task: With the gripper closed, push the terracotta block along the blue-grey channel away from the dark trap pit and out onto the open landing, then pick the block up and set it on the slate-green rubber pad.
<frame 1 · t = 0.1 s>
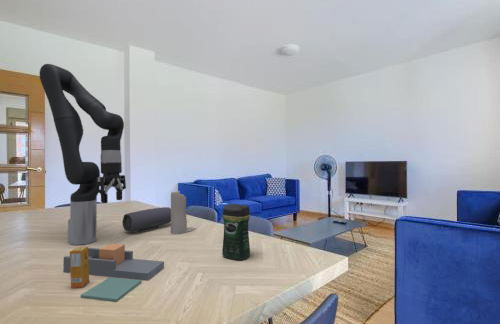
hand: (112, 201, 105), 17 cm above the table, tool pointing down, fingers open, 8 cm apart
candle: (183, 231, 126), on the table
supplement box: (79, 286, 70), on the table
block: (112, 263, 80), point 2 cm above the table, touching channel
bluetooth speaker: (149, 229, 128), on the table
pad: (112, 289, 68), on the table
coffee jar: (236, 256, 92), on the table
channel: (112, 269, 80), on the table
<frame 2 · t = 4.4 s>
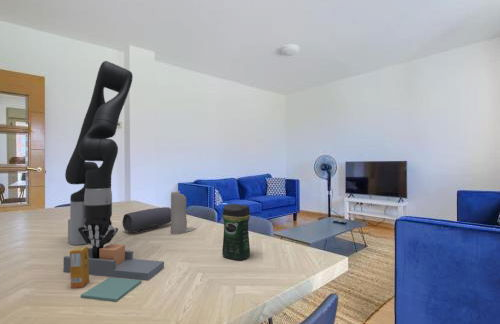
hand: (97, 257, 81), 3 cm above the table, tool pointing down, fingers closed
block: (112, 263, 80), point 2 cm above the table, touching gripper
everything else where it was.
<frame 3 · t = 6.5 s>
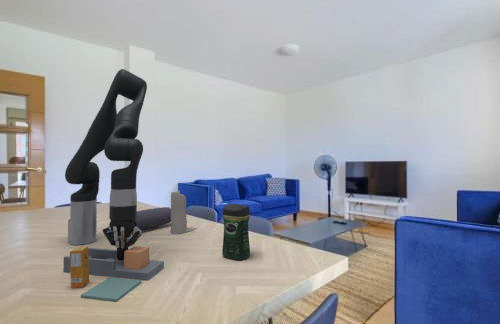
hand: (122, 259, 79), 3 cm above the table, tool pointing down, fingers closed
block: (137, 265, 78), point 2 cm above the table, touching channel, gripper
everything else where it was.
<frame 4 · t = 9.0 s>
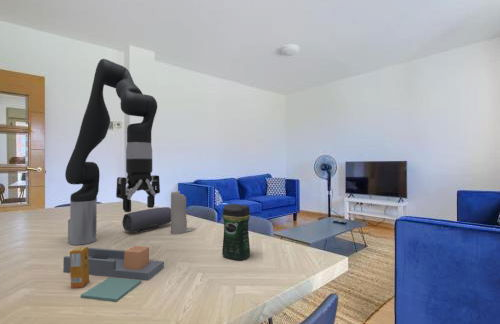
hand: (139, 209, 80), 19 cm above the table, tool pointing down, fingers open, 8 cm apart
block: (137, 265, 78), point 2 cm above the table, touching channel
everything else where it was.
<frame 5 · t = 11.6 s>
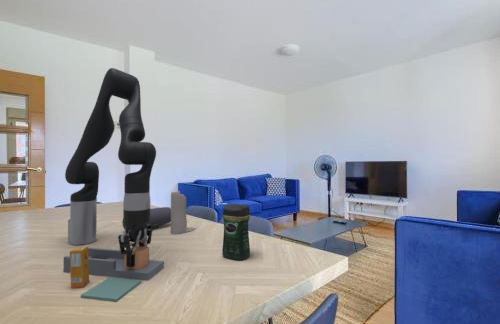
hand: (136, 263, 78), 3 cm above the table, tool pointing down, fingers closed on block, 5 cm apart
block: (137, 265, 78), point 2 cm above the table, touching channel, gripper
everything else where it was.
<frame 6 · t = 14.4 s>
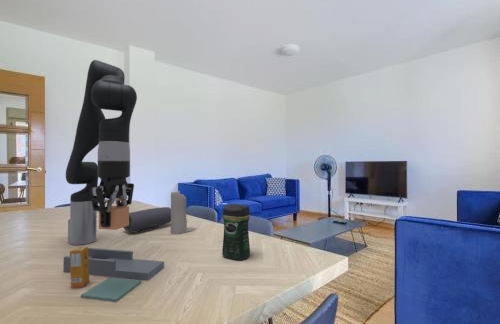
hand: (113, 224, 68), 17 cm above the table, tool pointing down, fingers closed on block, 5 cm apart
block: (114, 226, 68), point 16 cm above the table, touching gripper
everything else where it was.
when the fingers open (3 cm above the table, at t = 17.4 s): block drops 2 cm, resting on pad.
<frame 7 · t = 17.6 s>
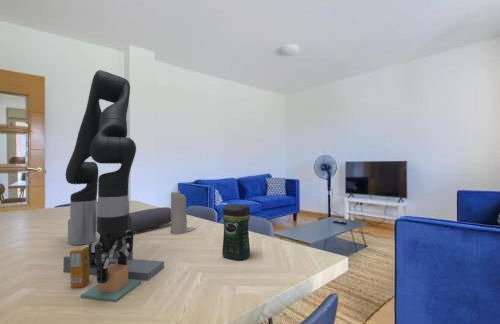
hand: (112, 276, 68), 4 cm above the table, tool pointing down, fingers open, 6 cm apart
block: (113, 287, 67), point 1 cm above the table, touching pad
everything else where it was.
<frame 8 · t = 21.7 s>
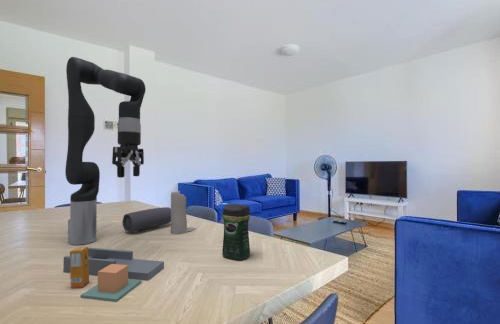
hand: (129, 176, 92), 28 cm above the table, tool pointing down, fingers open, 8 cm apart
nothing on the table moved.
at the end: block inside the target area (0.2 cm from its centre), point 0.6 cm above the table; block tilted 0°; the gripper is holding nothing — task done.
